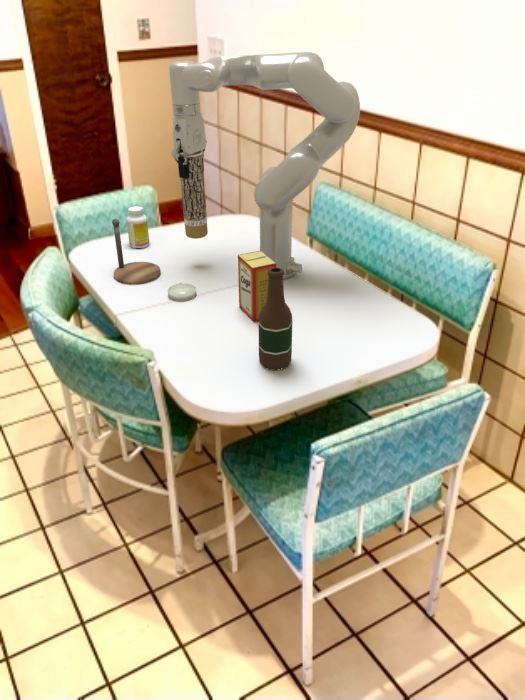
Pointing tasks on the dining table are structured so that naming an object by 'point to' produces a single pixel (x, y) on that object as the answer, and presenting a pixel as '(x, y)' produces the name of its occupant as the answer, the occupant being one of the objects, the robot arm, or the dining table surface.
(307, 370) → the dining table surface
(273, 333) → the beer bottle
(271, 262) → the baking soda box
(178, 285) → the sage dish
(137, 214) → the supplement bottle
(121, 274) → the holder base
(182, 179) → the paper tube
